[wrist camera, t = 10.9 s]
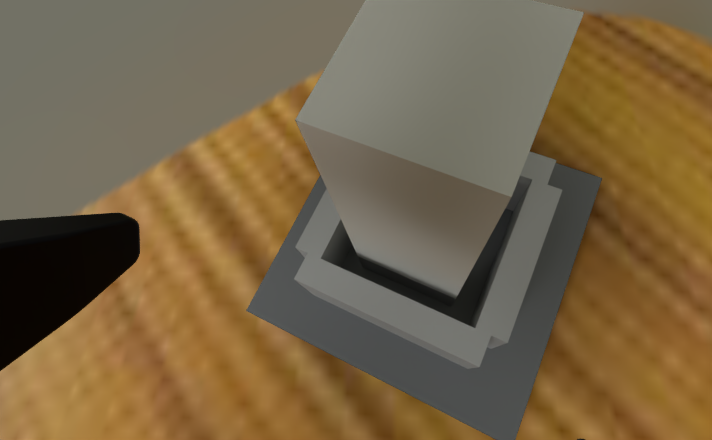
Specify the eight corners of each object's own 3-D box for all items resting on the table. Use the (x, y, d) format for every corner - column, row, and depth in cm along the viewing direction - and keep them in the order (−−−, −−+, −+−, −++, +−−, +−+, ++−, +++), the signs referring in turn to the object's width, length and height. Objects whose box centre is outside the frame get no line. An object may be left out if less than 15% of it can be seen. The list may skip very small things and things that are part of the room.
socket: (506, 443, 18) (536, 465, 14) (254, 314, 21) (214, 298, 17) (592, 188, 21) (638, 140, 17) (364, 111, 25) (353, 55, 20)
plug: (451, 306, 19) (511, 196, 7) (363, 267, 20) (294, 119, 9) (486, 221, 20) (584, 12, 9) (400, 188, 21) (385, -34, 10)
